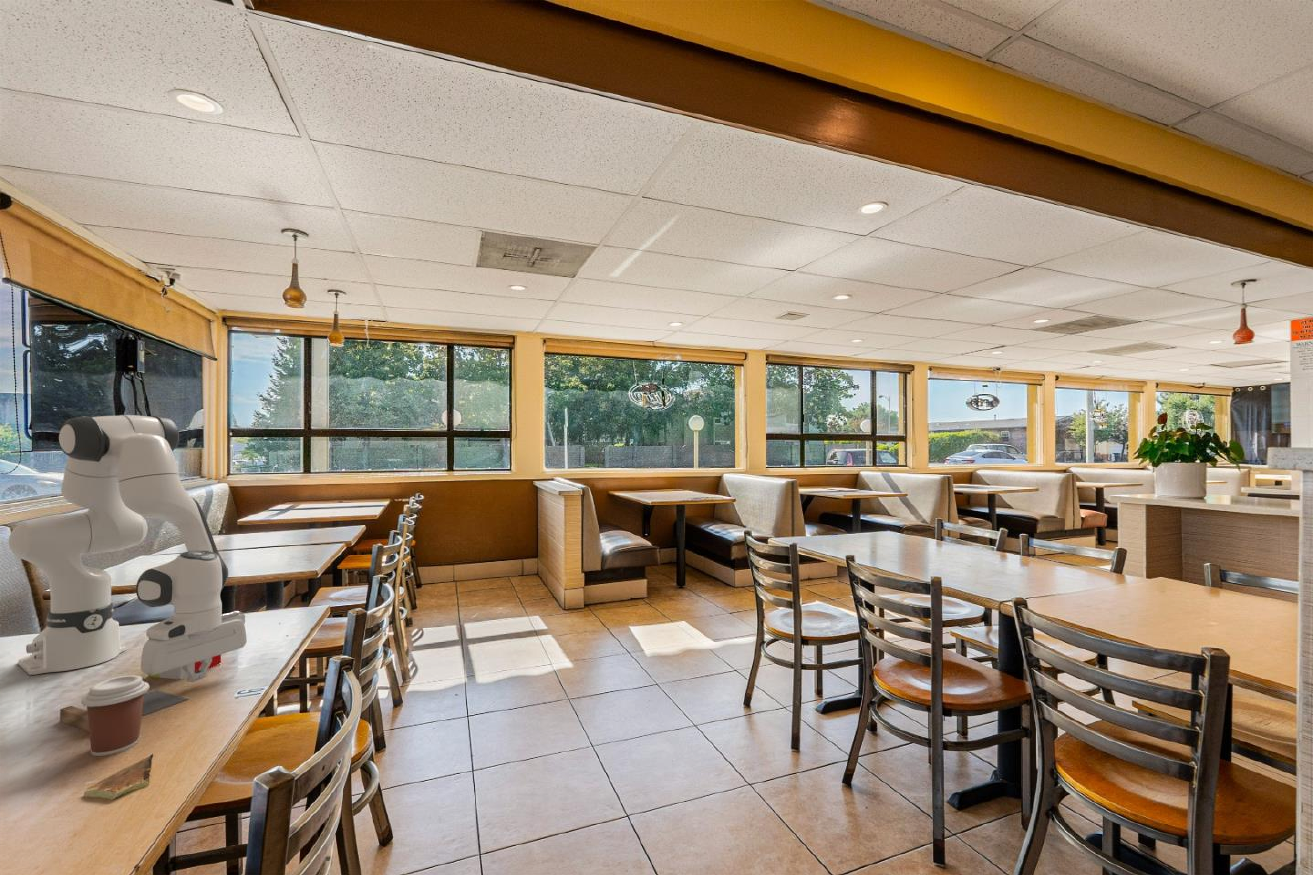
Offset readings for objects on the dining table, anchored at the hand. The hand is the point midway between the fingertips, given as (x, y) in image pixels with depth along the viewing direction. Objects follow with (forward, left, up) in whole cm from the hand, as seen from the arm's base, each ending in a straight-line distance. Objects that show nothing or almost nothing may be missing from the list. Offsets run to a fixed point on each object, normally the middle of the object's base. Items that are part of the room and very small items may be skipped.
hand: (196, 679), depth 130 cm
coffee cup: (+16, -22, -2) cm, 27 cm away
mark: (0, -11, -2) cm, 11 cm away
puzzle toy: (-14, +5, -2) cm, 15 cm away
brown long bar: (0, -20, -2) cm, 20 cm away
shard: (+31, -28, -2) cm, 42 cm away
